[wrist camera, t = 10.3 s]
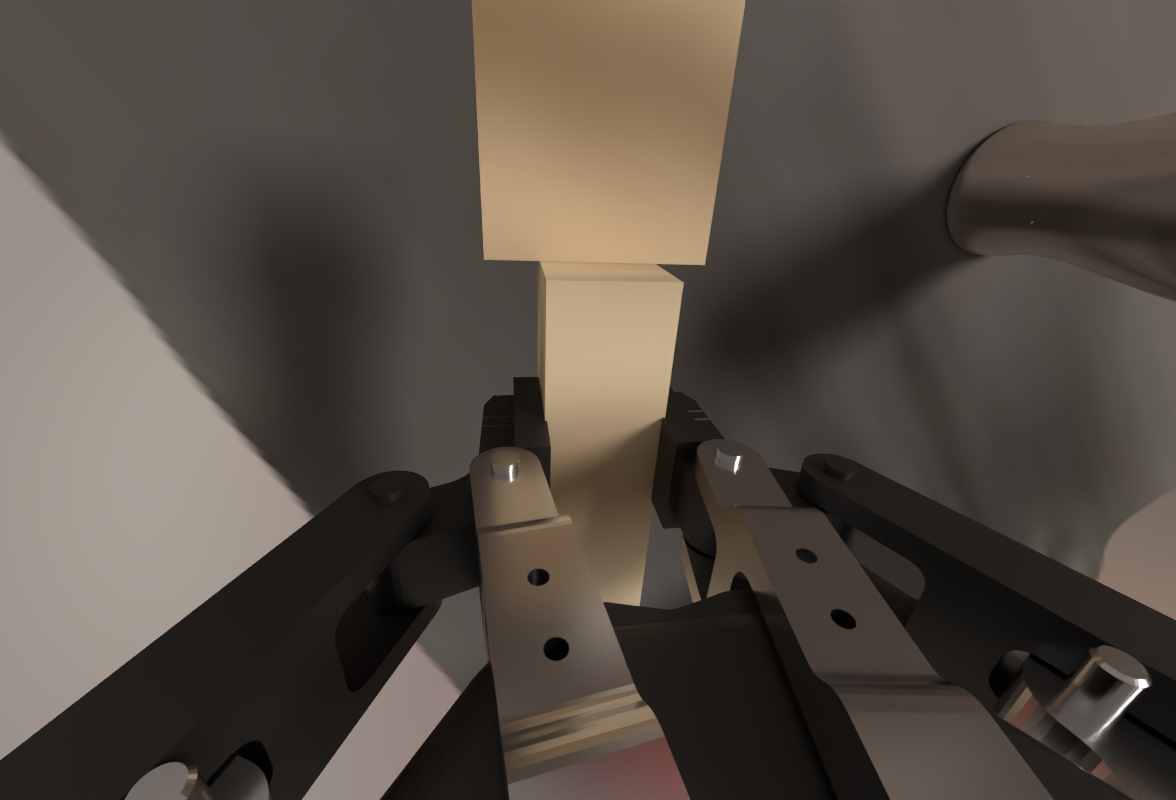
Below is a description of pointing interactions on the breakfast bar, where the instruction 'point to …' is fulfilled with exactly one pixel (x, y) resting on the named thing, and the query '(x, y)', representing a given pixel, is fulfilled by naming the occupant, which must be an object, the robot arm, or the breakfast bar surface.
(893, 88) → the breakfast bar surface
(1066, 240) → the beer glass
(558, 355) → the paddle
